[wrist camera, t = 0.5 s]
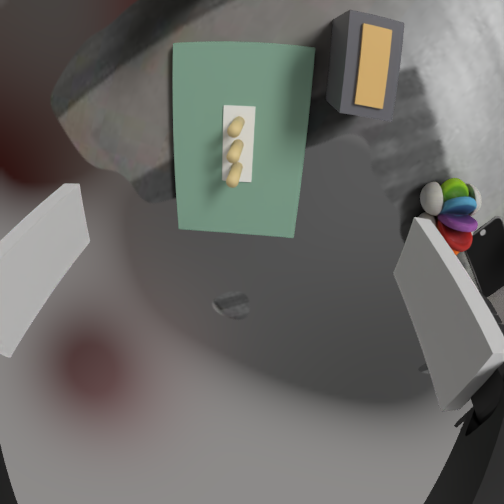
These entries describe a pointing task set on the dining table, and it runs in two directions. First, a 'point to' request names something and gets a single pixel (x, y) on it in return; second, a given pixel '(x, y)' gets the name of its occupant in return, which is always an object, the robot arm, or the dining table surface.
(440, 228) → the rainbow wheeled toy
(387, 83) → the plug housing
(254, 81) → the header board
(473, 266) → the smartphone
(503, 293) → the dining table surface
